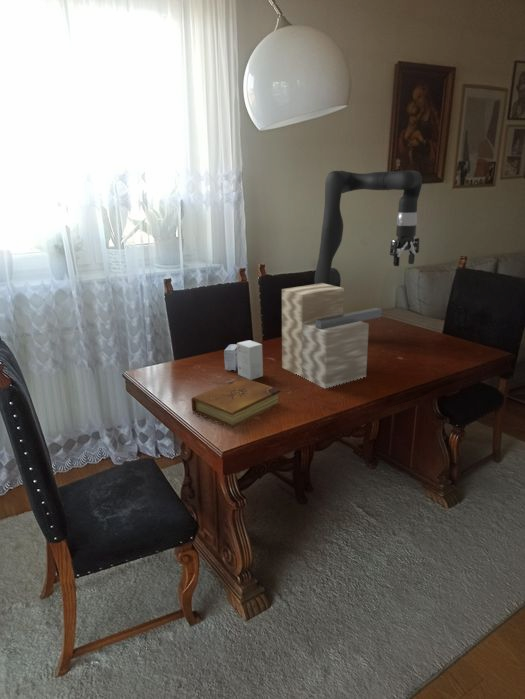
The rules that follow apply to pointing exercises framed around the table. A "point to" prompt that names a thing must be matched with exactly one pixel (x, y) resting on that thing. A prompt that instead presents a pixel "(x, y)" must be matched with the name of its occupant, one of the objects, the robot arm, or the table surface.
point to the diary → (236, 401)
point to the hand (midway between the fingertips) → (403, 265)
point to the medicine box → (231, 357)
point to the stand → (321, 337)
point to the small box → (250, 359)
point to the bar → (348, 318)
